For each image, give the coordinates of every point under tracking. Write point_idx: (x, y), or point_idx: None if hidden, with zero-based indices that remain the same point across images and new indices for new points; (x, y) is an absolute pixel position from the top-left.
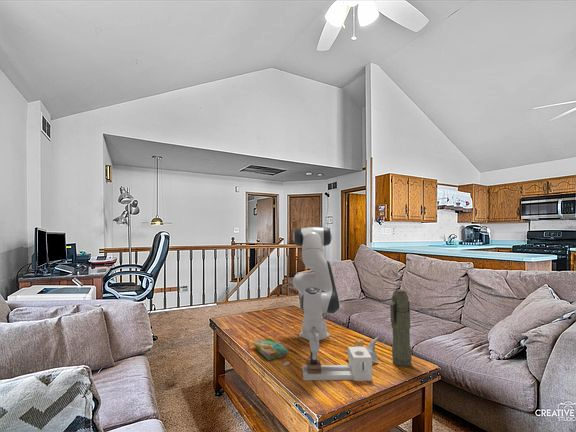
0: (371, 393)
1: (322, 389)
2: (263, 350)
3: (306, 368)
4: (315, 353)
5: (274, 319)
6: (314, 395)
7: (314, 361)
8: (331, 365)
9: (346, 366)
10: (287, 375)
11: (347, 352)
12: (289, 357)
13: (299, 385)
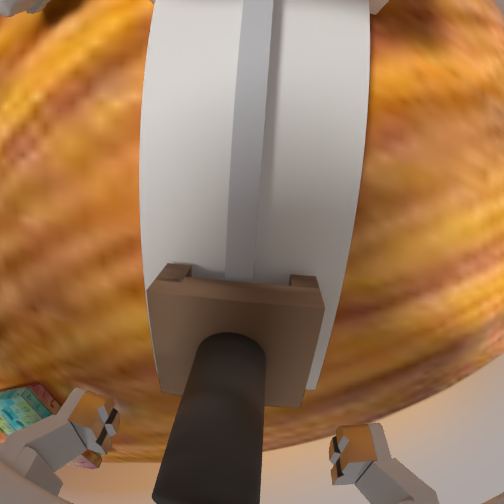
0: (500, 14)
1: (447, 274)
2: (72, 465)
3: None
4: (416, 490)
5: None
6: (474, 322)
7: (263, 380)
8: (146, 141)
9: (185, 5)
10: None
11: (7, 9)
12: (43, 371)
13: (363, 386)
